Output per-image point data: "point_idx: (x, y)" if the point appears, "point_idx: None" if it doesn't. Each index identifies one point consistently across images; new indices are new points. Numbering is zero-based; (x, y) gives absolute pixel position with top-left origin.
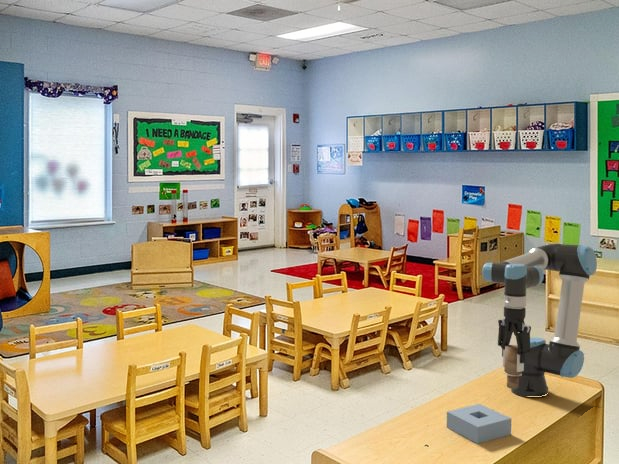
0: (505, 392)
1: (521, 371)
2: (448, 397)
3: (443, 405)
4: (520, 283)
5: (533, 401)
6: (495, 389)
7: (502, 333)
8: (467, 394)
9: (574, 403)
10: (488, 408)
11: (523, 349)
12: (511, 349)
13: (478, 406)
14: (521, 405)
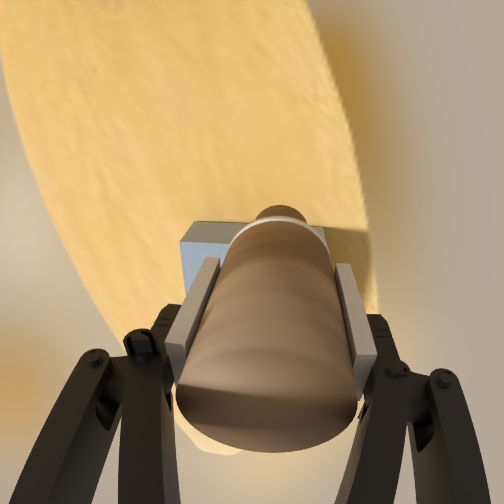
0: (76, 13)
1: (327, 254)
2: (47, 186)
3: (84, 233)
4: None
5: None
6: (50, 29)
7: (84, 484)
8: (45, 124)
9: None
10: (226, 247)
11: (416, 441)
12: (300, 446)
13: (197, 261)
14: (168, 24)
